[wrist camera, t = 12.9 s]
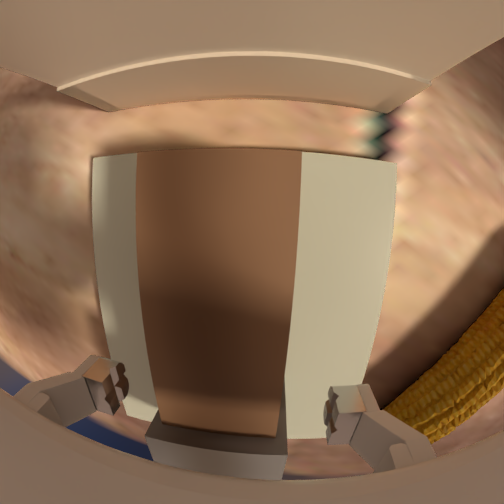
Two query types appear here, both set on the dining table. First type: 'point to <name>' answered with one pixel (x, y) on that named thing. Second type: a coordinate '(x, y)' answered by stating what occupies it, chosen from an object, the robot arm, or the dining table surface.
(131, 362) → the board
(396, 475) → the robot arm
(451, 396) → the food
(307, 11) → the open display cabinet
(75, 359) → the dining table surface
